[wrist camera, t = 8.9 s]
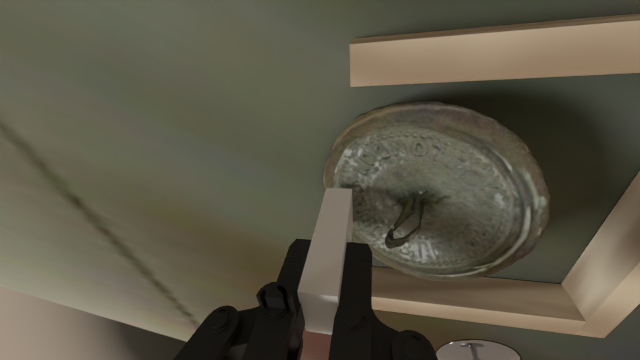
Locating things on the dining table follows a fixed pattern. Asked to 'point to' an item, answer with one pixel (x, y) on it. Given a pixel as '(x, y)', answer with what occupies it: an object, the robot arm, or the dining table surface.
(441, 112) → the lid
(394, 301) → the wooden u-shaped frame
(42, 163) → the dining table surface
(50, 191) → the dining table surface
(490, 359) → the wine glass
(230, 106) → the dining table surface
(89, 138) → the dining table surface
